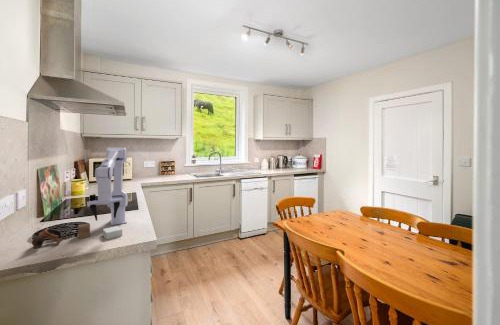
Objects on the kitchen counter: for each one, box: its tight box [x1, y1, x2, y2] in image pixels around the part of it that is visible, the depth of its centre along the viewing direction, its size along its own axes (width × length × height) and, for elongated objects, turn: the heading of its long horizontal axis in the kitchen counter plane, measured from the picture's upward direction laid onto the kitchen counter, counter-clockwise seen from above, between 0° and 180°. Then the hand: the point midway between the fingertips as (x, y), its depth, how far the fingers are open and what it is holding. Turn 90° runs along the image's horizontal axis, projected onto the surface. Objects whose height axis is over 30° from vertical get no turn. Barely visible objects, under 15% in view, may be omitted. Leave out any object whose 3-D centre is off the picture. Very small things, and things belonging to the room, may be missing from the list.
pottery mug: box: [31, 228, 64, 250], centre depth 106 cm, size 12×10×8 cm
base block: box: [102, 225, 123, 240], centre depth 120 cm, size 7×7×4 cm
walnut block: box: [77, 223, 91, 239], centre depth 118 cm, size 4×4×6 cm
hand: (105, 218), depth 116 cm, fingers open, 7 cm apart
